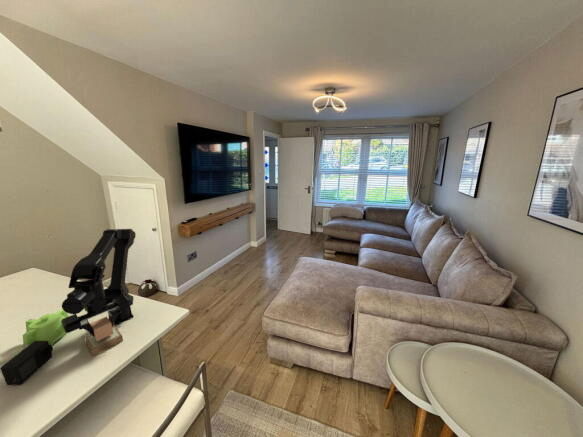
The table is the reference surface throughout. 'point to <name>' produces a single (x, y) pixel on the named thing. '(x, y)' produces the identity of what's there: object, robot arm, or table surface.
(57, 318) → the teapot
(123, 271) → the robot arm
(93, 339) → the stand
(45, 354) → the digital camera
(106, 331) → the cube
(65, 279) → the table surface
